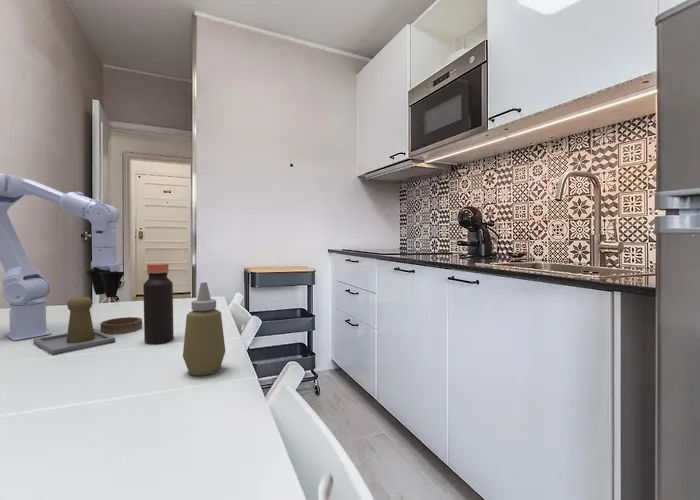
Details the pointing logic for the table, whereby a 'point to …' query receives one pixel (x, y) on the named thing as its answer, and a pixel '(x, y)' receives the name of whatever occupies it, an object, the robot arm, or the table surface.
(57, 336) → the tray
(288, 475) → the table surface
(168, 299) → the vinegar
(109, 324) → the ring
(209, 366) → the squeeze bottle
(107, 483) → the table surface
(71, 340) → the pepper mill
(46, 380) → the table surface
